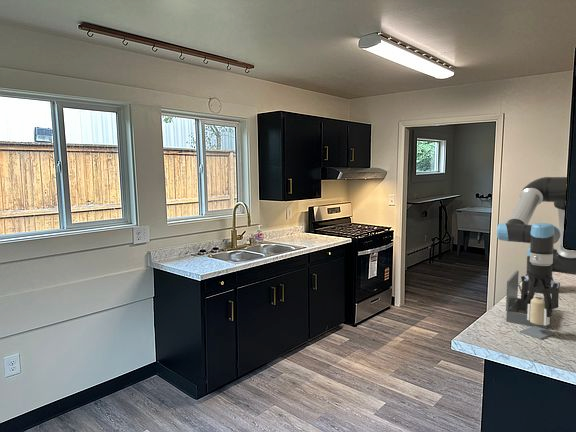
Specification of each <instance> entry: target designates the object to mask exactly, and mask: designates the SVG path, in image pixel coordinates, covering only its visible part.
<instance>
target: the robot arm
mask: <svg viewBox="0 0 576 432" xmlns="http://www.w3.org/2000/svg"><path fill="white" fill-rule="evenodd" d="M567 177H568V176H544V177H540V178H536V179H534V180H533V181H531V182H529V183H528V184H526V185H525V186H524V187H523V188H522V190H521V191H520V194H519V200H518V202H517V204H516V205H515V207H514V209H513V211H512V213H511V215H510V217H509V218H508V220H507V222H500V223H498V225H497V226H496V238H497V239H498V241H502V242H503V241H504V242H513V243H525V244H530V245H529V247H528V248H527V253H526V272H525V273H526V274H525V275H523V276H520V278H521V289H522V291H521V292H520V299H521V300H522V301H525V302H526V310H525V311H526V312H527V313H526V314H527V320H530V306H531V300H532V299H533V298H535V294H536V293H537V294H538V293H540V294H542V295H543V298H544V300H545V304H546V308H544V322H543V325H545V326H546V325H547V326H549V325H550V321H551V320H550V319H551V318H552V317H553V310H555V309H558V308H559V298H560V297H559V289H560V286H561V282H558V281H557V282H556V281H555V280H554V277H553V273H558V274H559V273H560V274H568V275H574V276H576V251H572V250H566V249H564V248H563V231H564V215H565V201H566V184H567ZM545 202H546V203H553V206H554V208H556V209H557V214H558V216H557V217H558V227H557V226H555V225H554V224H552V223H549V222H548V223H545V222H536V223H533V224H529V223H530V221H531V219H532V217H533V215H534V213H535V211H536V209H537V207H538V206H539V205H540V204H541V203H545ZM558 241H559V246H558V247H557V248H555V247H554V246H555V245H554V244H557V242H558ZM547 326H546V327H547Z"/></svg>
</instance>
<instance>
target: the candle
mask: <svg viewBox="0 0 576 432" xmlns="http://www.w3.org/2000/svg"><path fill="white" fill-rule="evenodd" d="M544 308H546V304H545V300H544V297H542V296H541V297H540V296H534V297H533V299H532V300H531V306H530V322H531V323H533V324H537V325H543V322H544Z"/></svg>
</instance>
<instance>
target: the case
mask: <svg viewBox="0 0 576 432" xmlns="http://www.w3.org/2000/svg"><path fill="white" fill-rule="evenodd" d="M519 274H520V271H519V270H515V272H513V274H512V275H511V276H510V278H508V279H507V281H506V297H505V298H506V299H505V301H506V302H505V303H506V304H505V312H506V323H507V322H508V323H511V324H517V325H522V326H528V327H533V326H537V327H540V328H543V329H546V328H547V326H548V325H546V326H545V325H537V324H533V323H531V322H530V320H527V313H523V312H518V311H517V310H518V309H521V310H524V311H526V302H525V301H522V300H521V297H518V296H519V292H520V293H521V291H522V286H521V284H519ZM518 291H519V292H518ZM546 330H547V329H546Z"/></svg>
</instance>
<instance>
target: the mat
mask: <svg viewBox="0 0 576 432" xmlns="http://www.w3.org/2000/svg"><path fill="white" fill-rule="evenodd" d="M519 333H520V334H524V335H525V336H526V335H527V336H529V337H532V338H535V339H538V340H543V339H546V338H548V337H552V336H555V335H556V332H555V331H552V330H550V329H543V328H540V327H537V326H533V327H532V326H529V327H527V328H525V329H522V330H519Z"/></svg>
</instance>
